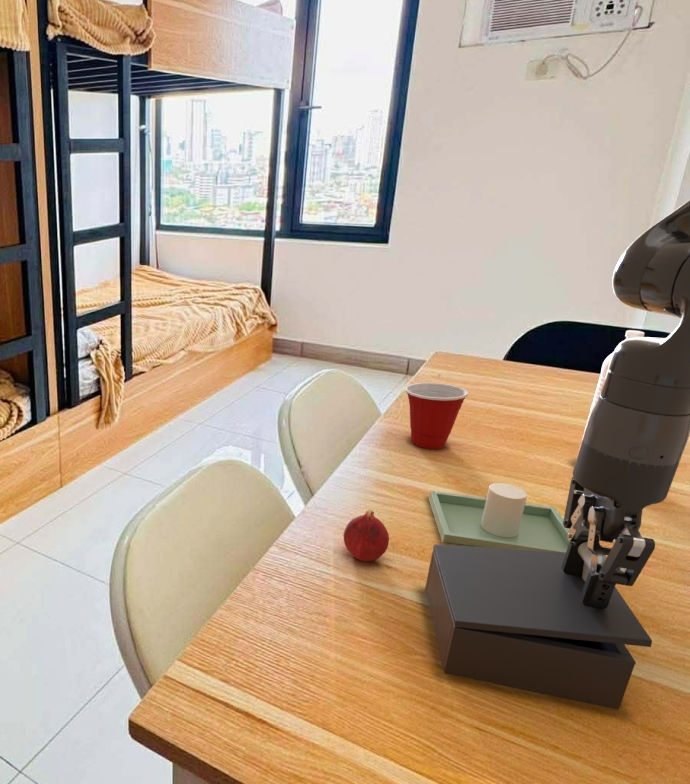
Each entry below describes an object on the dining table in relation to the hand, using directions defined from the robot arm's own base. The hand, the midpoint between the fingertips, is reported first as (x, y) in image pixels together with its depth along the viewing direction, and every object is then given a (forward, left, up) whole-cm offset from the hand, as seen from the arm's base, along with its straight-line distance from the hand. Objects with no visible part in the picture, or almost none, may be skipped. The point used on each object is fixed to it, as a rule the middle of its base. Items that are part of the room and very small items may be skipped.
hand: (582, 588), depth 67 cm
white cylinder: (0, -27, -9) cm, 28 cm away
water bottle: (-22, -56, -10) cm, 61 cm away
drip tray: (0, -27, -9) cm, 29 cm away
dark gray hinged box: (+5, 0, -9) cm, 11 cm away
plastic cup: (+6, -58, -10) cm, 59 cm away
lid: (+5, 0, -2) cm, 5 cm away
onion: (+20, -13, -10) cm, 26 cm away
